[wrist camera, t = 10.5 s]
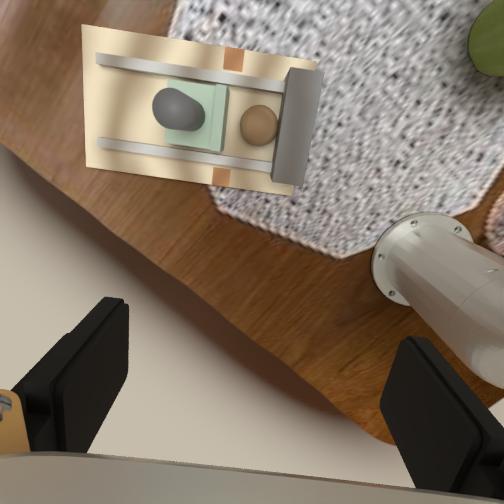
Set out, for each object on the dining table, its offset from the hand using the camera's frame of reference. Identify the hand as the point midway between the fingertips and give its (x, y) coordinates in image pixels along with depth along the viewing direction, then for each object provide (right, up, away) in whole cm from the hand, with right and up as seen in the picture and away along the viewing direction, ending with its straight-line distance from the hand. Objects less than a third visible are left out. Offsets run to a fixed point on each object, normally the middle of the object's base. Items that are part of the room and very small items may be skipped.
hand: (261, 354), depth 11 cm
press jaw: (-6, +18, +24) cm, 31 cm away
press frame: (-7, +19, +26) cm, 32 cm away
